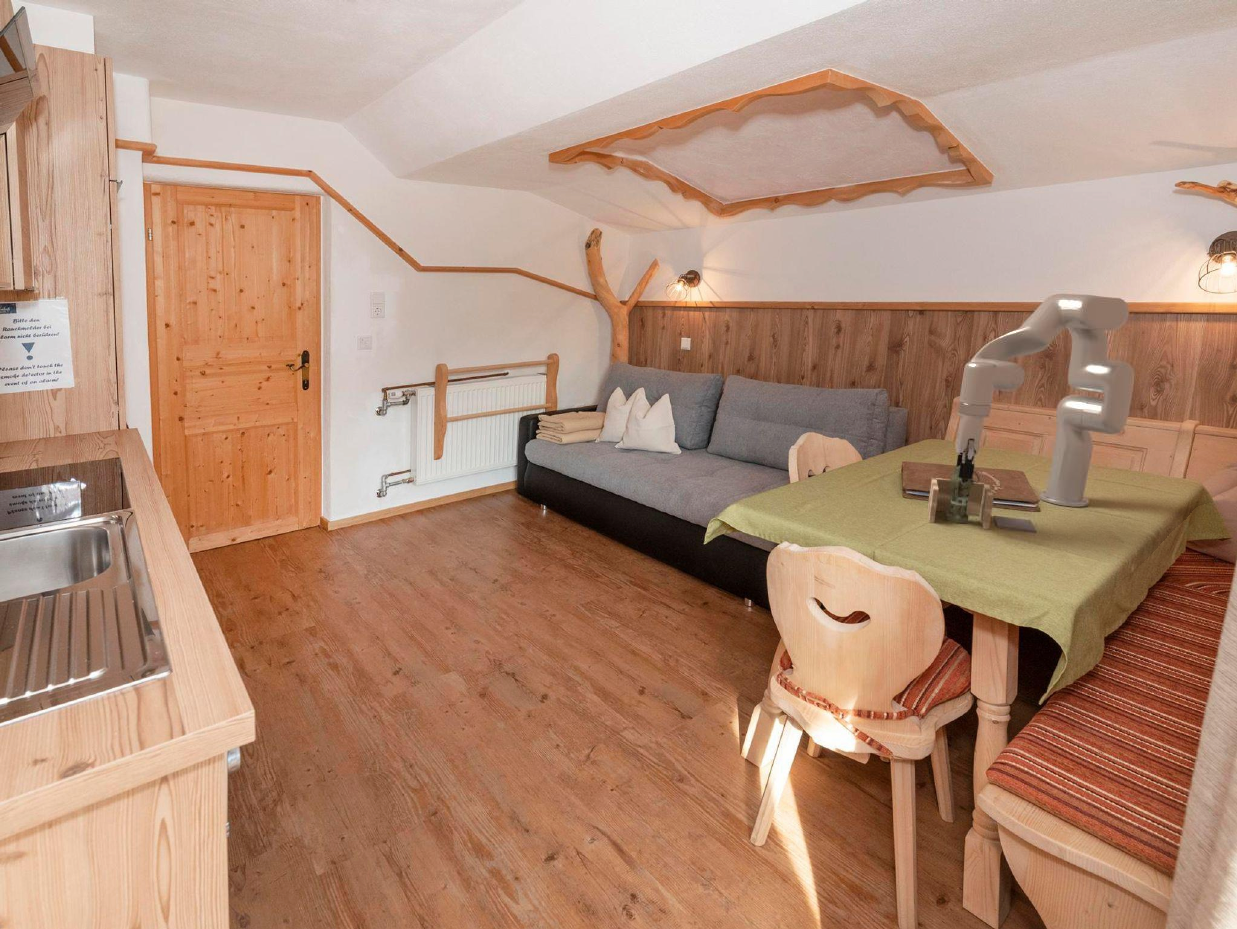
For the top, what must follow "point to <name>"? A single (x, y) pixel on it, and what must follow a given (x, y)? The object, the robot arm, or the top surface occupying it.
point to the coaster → (1014, 524)
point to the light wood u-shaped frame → (977, 500)
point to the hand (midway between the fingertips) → (963, 473)
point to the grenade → (959, 497)
